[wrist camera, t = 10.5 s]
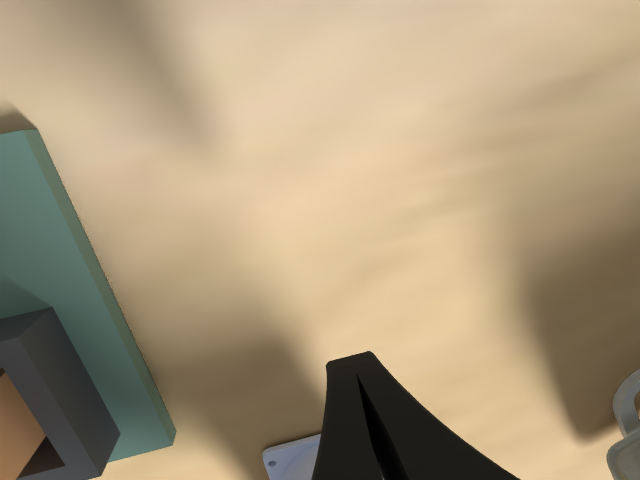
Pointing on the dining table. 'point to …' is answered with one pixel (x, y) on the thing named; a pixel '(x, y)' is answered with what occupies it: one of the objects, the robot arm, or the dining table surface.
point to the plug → (16, 430)
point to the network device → (626, 432)
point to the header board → (66, 329)
